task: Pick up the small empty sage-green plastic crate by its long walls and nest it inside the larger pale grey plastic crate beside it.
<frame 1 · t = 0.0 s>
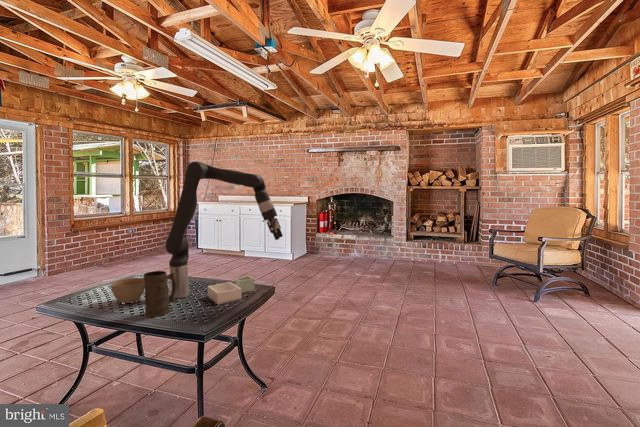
hand: (279, 238, 185), 31 cm above the table, tool tilted 20°, fingers open, 8 cm apart
small crate: (245, 290, 200), on the table
planter bowl: (129, 302, 186), on the table
beer stein: (162, 311, 170), on the table
big crate: (224, 298, 187), on the table
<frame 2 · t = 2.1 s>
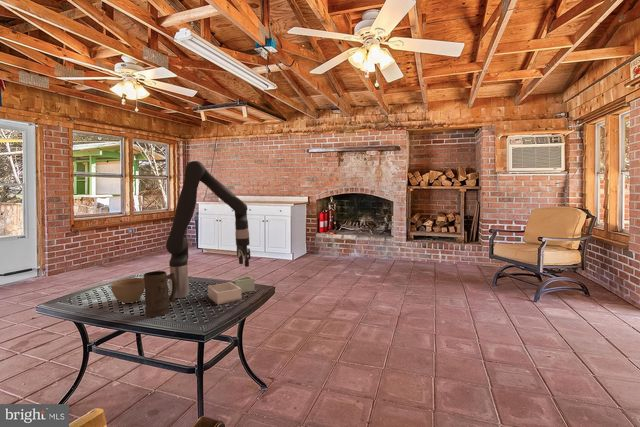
hand: (244, 265, 199), 15 cm above the table, tool pointing down, fingers open, 8 cm apart
nothing on the table moved.
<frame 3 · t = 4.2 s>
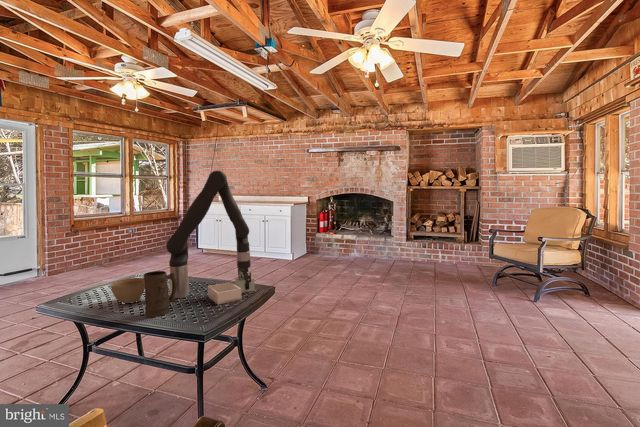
hand: (244, 287, 200), 1 cm above the table, tool pointing down, fingers closed on small crate, 6 cm apart
small crate: (245, 290, 200), on the table, touching gripper
everything else where it was.
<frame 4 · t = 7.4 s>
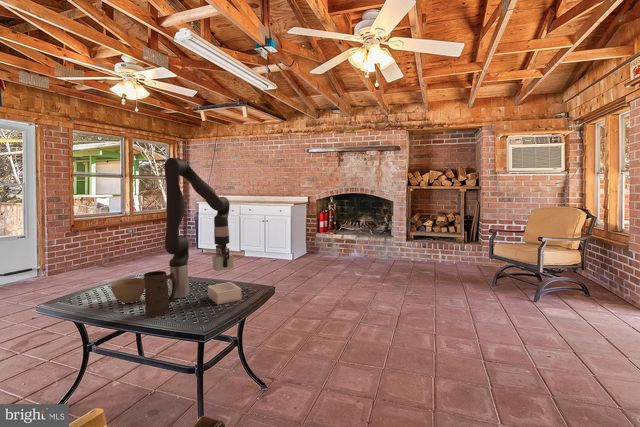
hand: (223, 265, 186), 18 cm above the table, tool pointing down, fingers closed on small crate, 6 cm apart
small crate: (223, 268, 186), point 16 cm above the table, touching gripper
everything else where it was.
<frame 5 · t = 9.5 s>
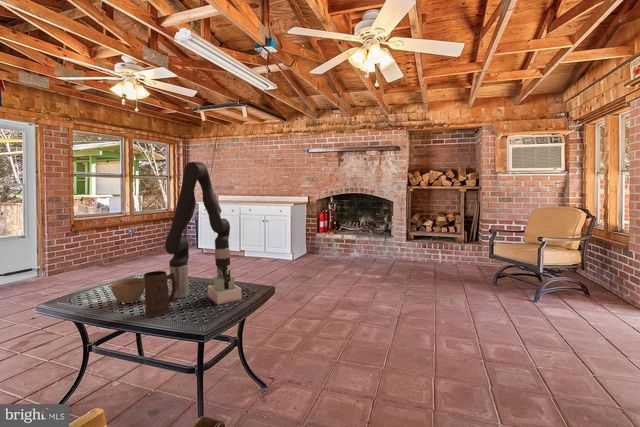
hand: (224, 287, 186), 6 cm above the table, tool pointing down, fingers closed on small crate, 6 cm apart
small crate: (224, 290, 187), point 4 cm above the table, touching gripper
everything else where it was.
when the fingers open (4 cm above the table, at t = 11.0 s): small crate drops 1 cm, resting on big crate.
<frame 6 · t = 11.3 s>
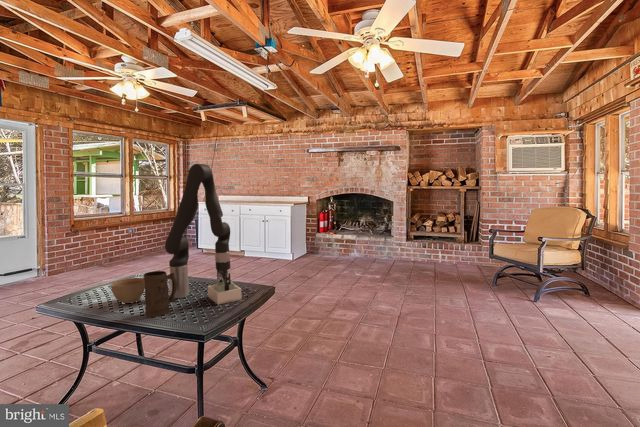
hand: (224, 290, 187), 4 cm above the table, tool pointing down, fingers open, 8 cm apart
small crate: (224, 296, 187), point 1 cm above the table, touching big crate
everything else where it was.
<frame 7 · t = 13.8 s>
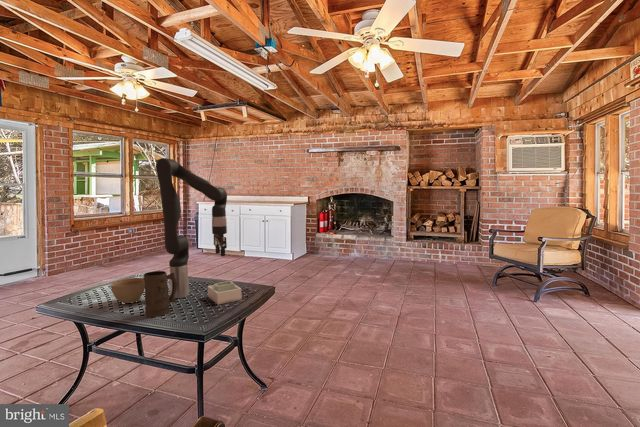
hand: (220, 254, 188), 23 cm above the table, tool pointing down, fingers open, 8 cm apart
nothing on the table moved.
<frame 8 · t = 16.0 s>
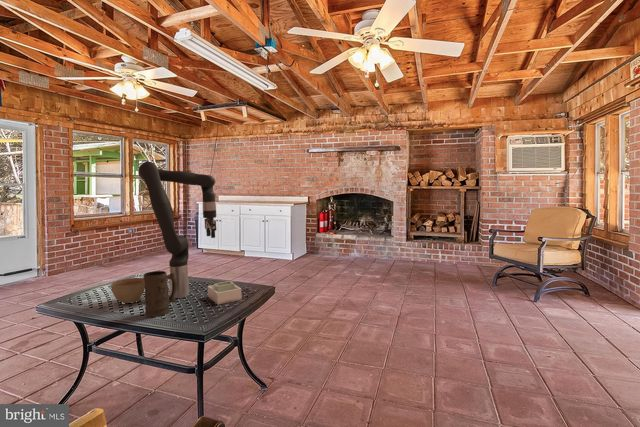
hand: (210, 237, 206), 30 cm above the table, tool pointing down, fingers open, 8 cm apart
nothing on the table moved.
at the end: small crate 0.1 cm off-centre on the big crate, point 1.0 cm above the big crate's base; small crate tilted 0°; the gripper is holding nothing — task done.
